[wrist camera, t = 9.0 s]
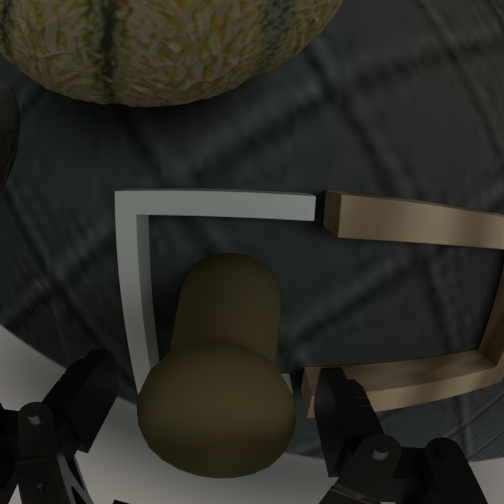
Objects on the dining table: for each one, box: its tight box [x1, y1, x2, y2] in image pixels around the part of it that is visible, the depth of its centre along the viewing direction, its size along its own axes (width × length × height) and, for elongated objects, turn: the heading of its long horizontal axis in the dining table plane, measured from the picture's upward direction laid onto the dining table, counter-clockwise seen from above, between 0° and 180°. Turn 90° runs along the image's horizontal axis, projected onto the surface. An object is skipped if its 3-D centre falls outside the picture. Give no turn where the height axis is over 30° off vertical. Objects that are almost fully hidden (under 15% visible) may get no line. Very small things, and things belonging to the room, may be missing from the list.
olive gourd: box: [137, 253, 296, 478], centre depth 12 cm, size 6×6×11 cm
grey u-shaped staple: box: [115, 188, 316, 395], centre depth 17 cm, size 10×13×2 cm
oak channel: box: [301, 190, 504, 418], centre depth 17 cm, size 18×14×3 cm
